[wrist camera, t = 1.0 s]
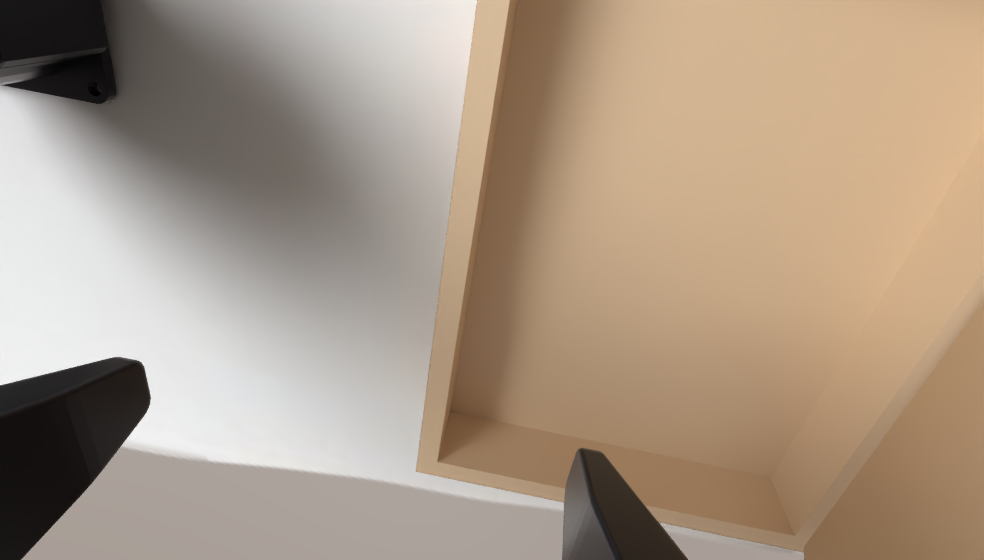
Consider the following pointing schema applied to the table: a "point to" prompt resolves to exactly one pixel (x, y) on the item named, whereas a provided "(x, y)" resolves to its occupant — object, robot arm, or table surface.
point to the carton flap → (921, 473)
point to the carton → (705, 247)
